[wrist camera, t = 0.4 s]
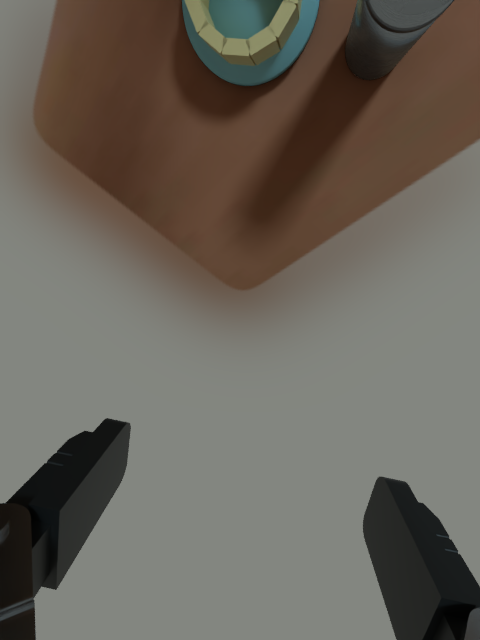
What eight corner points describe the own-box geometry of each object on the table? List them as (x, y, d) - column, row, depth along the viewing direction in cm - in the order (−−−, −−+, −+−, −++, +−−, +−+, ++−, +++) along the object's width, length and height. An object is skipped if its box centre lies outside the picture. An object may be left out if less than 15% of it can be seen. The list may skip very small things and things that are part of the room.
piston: (337, 28, 26) (357, -87, 14) (399, -9, 25) (484, -175, 12) (353, 92, 28) (385, 39, 16) (413, 61, 26) (501, -26, 14)
